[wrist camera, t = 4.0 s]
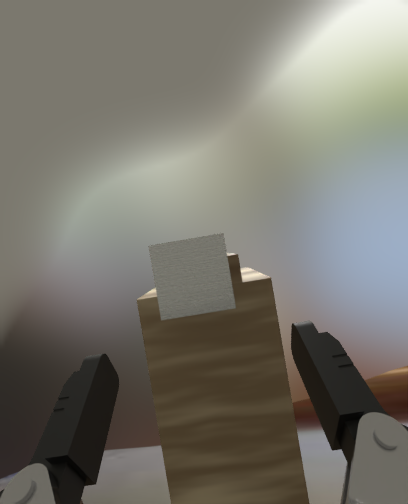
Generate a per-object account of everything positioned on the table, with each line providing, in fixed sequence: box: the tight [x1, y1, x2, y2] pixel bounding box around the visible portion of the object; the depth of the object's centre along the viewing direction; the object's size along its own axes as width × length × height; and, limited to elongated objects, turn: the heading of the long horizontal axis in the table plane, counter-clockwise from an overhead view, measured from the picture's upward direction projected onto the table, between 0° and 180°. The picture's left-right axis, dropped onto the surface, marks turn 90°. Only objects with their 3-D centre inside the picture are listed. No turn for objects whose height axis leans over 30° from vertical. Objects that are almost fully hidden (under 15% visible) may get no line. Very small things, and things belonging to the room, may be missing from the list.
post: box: [137, 253, 309, 504], centre depth 29 cm, size 17×15×34 cm
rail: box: [149, 233, 236, 320], centre depth 26 cm, size 26×4×4 cm, turn 178°
